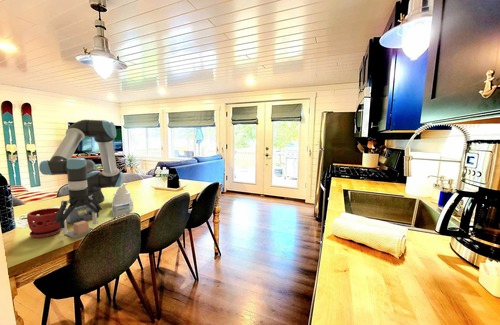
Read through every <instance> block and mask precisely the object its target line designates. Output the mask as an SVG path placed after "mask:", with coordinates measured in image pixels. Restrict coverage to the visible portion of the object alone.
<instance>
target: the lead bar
mask: <svg viewBox="0 0 500 325" xmlns="http://www.w3.org/2000/svg"><path fill="white" fill-rule="evenodd" d="M78 219H79V221H86V222H89V221H93V217H92V216H91V215H89V214H87V212H85V211H83V212H78Z"/></svg>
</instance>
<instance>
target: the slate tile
mask: <svg viewBox="0 0 500 325" xmlns="http://www.w3.org/2000/svg"><path fill="white" fill-rule="evenodd" d="M93 229H94V228H92V227H90V226H89V231H88V232H85V233H83V234H80V235H78V234H76V233H74V230H72V231H67V234H66V235H65V234H63V235H65V236H67V237H69V238H72V239H74V240H76V239H79V238H82V237H85V236H88V235H89V234H88V233H89V232H90V231H91V230H93ZM87 234H88V235H87Z"/></svg>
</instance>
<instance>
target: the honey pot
mask: <svg viewBox="0 0 500 325" xmlns="http://www.w3.org/2000/svg"><path fill="white" fill-rule="evenodd" d="M127 185H128V183H127V182H122V185H121V186H120V187H117V190H116V192H114V193H113V198H112V201H111V212H112V213H113V206H114V205H118V204H122V203H129V205H130V211H133V210H134V200H133V198H132V196H131V193H132V192H131V191H130V190H128V188H127V187H126V186H127Z"/></svg>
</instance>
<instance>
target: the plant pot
mask: <svg viewBox="0 0 500 325" xmlns="http://www.w3.org/2000/svg"><path fill="white" fill-rule="evenodd" d="M59 209H60V207H47V208H40V209H37V210H32V211H29V212H28V213H27V214H26V220H27V221H26V222H27V224H28V225H27V226H28V228H29V230H30V232H29V236H30V237H31V238H35V239H38V238H39V239H40V238H47V237H50V236H54V235H56V234H58V233H59V232H61V231H62V228H60V223H59V222H56V221H54V219H55V217H56V215H57V213H58V211H59Z"/></svg>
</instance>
